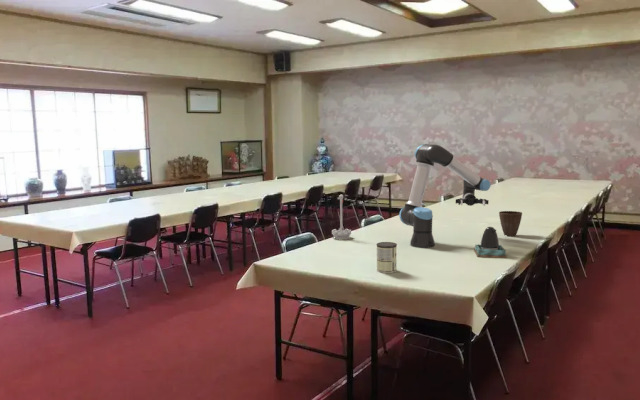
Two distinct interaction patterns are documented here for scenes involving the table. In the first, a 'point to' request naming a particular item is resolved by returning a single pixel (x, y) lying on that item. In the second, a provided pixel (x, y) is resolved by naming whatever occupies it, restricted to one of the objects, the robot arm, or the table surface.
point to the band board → (490, 252)
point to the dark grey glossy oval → (489, 239)
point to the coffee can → (386, 257)
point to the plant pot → (510, 222)
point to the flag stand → (341, 226)
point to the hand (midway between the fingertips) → (473, 203)
